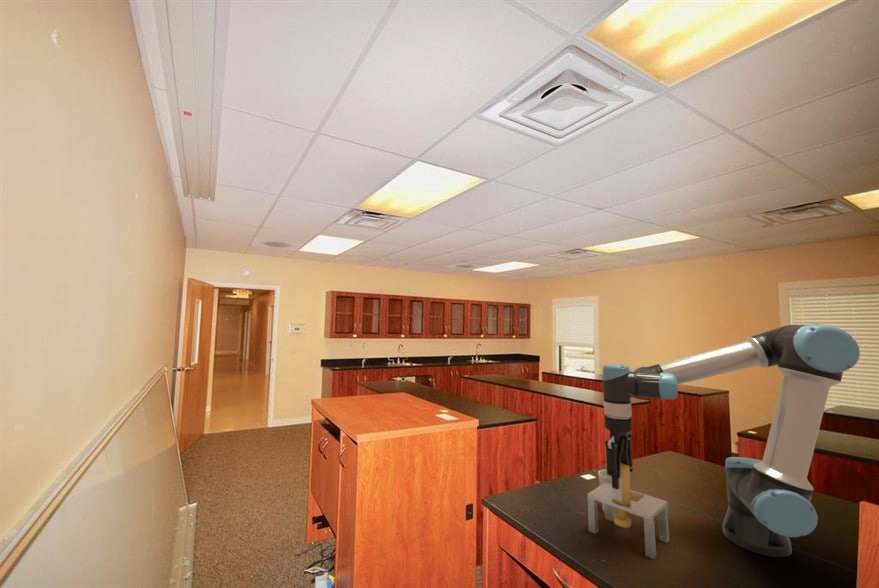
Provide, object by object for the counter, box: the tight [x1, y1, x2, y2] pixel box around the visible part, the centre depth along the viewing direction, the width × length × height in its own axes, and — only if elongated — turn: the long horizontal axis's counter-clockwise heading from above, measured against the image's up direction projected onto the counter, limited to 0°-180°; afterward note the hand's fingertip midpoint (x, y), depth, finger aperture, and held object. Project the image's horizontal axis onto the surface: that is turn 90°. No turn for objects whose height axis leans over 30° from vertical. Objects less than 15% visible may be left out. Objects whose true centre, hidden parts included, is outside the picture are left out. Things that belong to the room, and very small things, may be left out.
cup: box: [597, 469, 618, 516], centre depth 123 cm, size 8×8×12 cm
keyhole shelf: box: [586, 482, 670, 560], centre depth 108 cm, size 18×13×11 cm
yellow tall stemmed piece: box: [612, 463, 632, 529], centre depth 107 cm, size 5×5×16 cm
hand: (621, 496), depth 107 cm, fingers closed on yellow tall stemmed piece, 5 cm apart
